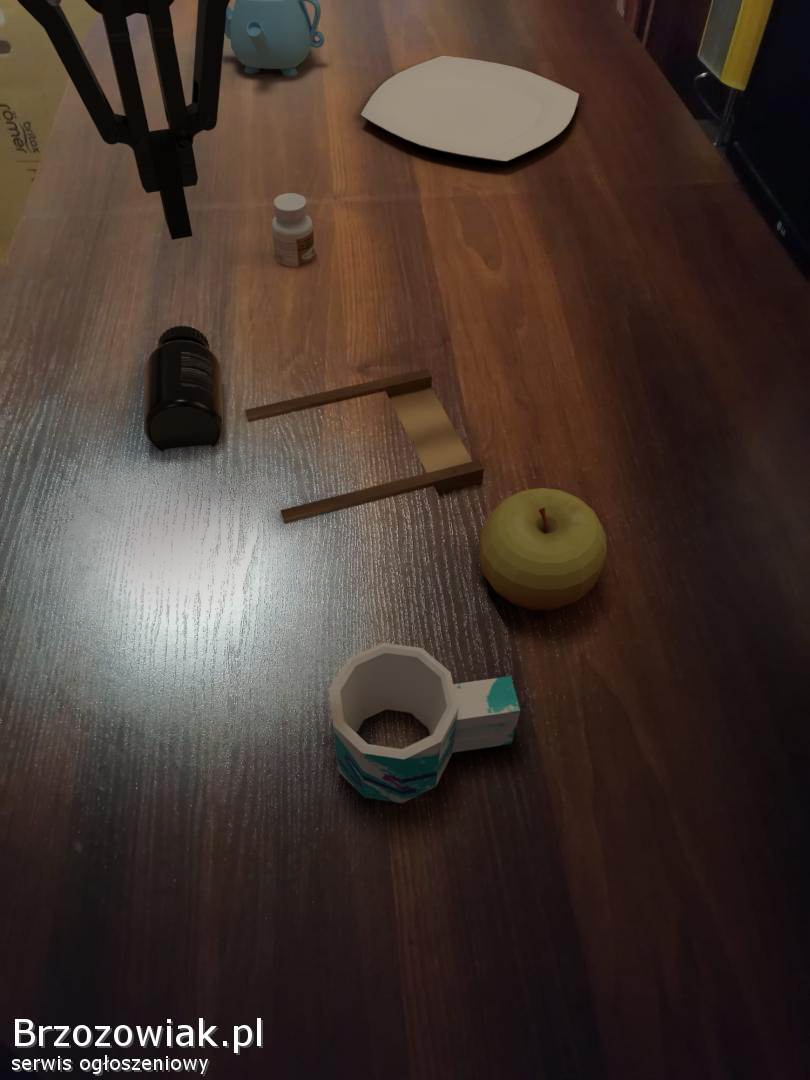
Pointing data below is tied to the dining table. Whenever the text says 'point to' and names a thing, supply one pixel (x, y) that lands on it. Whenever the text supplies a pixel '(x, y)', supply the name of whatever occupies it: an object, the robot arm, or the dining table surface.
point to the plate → (472, 108)
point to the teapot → (272, 33)
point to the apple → (542, 549)
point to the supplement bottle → (183, 392)
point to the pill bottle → (292, 231)
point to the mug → (428, 694)
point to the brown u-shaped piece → (422, 426)
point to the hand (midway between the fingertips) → (178, 227)
